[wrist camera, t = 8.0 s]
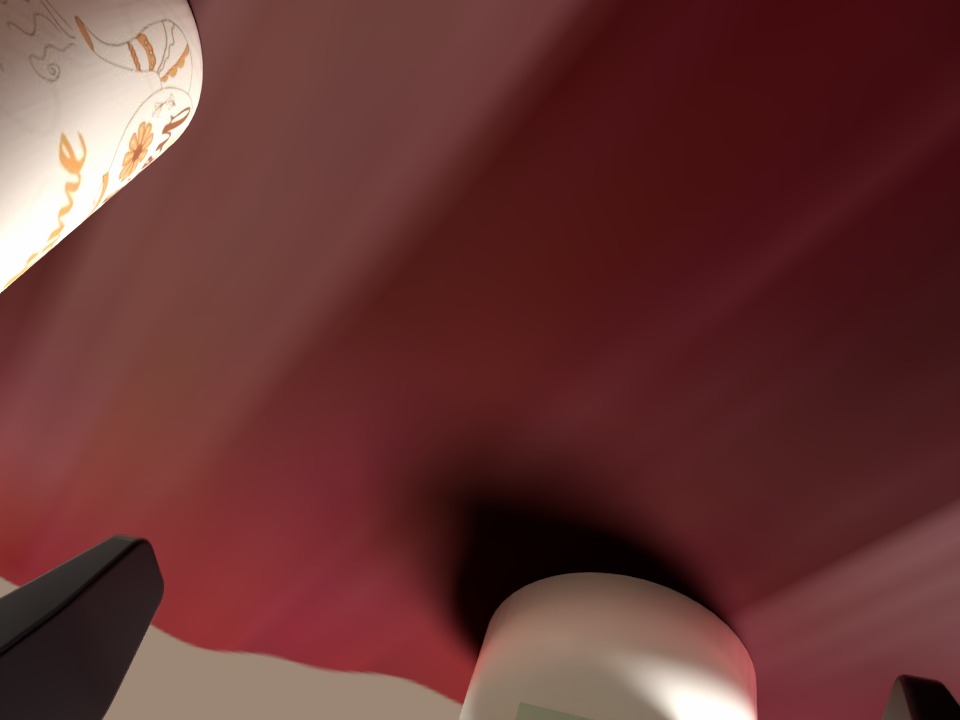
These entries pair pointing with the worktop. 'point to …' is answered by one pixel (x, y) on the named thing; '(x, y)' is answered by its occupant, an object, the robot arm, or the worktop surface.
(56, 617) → the robot arm
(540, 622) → the cream tin
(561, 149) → the worktop surface
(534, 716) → the white cube
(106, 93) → the mug
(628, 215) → the worktop surface
